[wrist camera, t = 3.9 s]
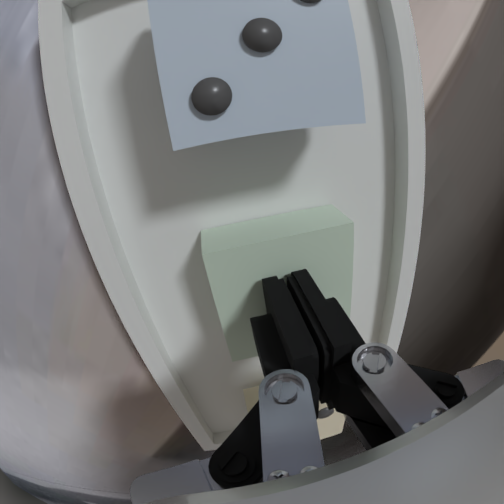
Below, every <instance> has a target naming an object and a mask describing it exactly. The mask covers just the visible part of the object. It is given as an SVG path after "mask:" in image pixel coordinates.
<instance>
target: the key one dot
mask: <svg viewBox="0 0 504 504" xmlns="http://www.w3.org/2000/svg"><path fill="white" fill-rule="evenodd" d="M201 247H202V257H203V261H204V265H205V268H206V272H207V276H208V280H209V283H210V287H211V291H212V294H213V298H214V301H215V305H216V308H217V312H218V315H219V319H220V322H221V326H222V329H223V332H224V336H225V339H226V342H227V346H228V349H229V352H230V355H231V359H232V362H234V361H238V360H243V359H248V358H252V357H257V356H258V353H257V349H256V345H255V340H254V336H253V332H252V327H251V322H250V318H252V317H256V316H261V315H265V314H267V312H266V305H265V299H264V293H263V286H262V279H263V278H268V277H272V276H277V277H278V279H281V278H283V279H284V281H285V283H286V285H287V277H289V276H291V272H293V271H298V270H302V269H307V271H308V272H309V274H310V275H311V277H312V278H313V280H314V281H315V283H316V285H317V286H318V288H319V289H320V291H321V292H322V294H323V296H324V297H325V299H328V298H332V297H334V298H336V299H337V301H338V302H339V304H340V305H341V307H342V308H343V310H344V311H345V313H346V314H347V316H348V317H349V319H350V312H351V298H352V280H353V254H354V222H353V221H352V220H350V219H349V218H348V217H347V216H346V215H344V214H343V213H342V212H341V211H339V210H338V209H337V208H336V207H334V206H333V205H332V204H331V205H325V206H320V207H314V208H309V209H304V210H299V211H293V212H288V213H283V214H278V215H273V216H268V217H263V218H258V219H253V220H248V221H244V222H239V223H234V224H229V225H225V226H220V227H215V228H211V229H206V230H201Z"/></svg>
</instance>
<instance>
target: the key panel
mask: <svg viewBox="0 0 504 504" xmlns="http://www.w3.org/2000/svg"><path fill="white" fill-rule="evenodd" d="M348 3H349V8H350V13H351V18H352V23H353V28H354V33H355V39H356V45H357V51H358V57H359V64H360V71H361V79H362V88H363V97H364V107H365V119H366V123H364V124H347V125H333V126H322V127H312V128H302V129H294V130H286V131H278V132H271V133H264V134H258V135H251V136H245V137H239V138H234V139H228V140H223V141H218V142H213V143H208V144H203V145H198V146H194V147H189V148H185V149H180V150H176V151H173V147H172V142H171V138H170V133H169V128H168V123H167V118H166V113H165V108H164V102H163V97H162V92H161V86H160V81H159V75H158V69H157V63H156V57H155V51H154V45H153V38H152V31H151V24H150V17H149V9H148V2H147V0H38V25H39V44H40V56H41V66H42V74H43V82H44V88H45V95H46V101H47V107H48V112H49V117H50V122H51V127H52V132H53V136H54V140H55V145H56V149H57V153H58V157H59V160H60V164H61V168H62V171H63V175H64V178H65V182H66V185H67V188H68V192H69V195H70V198H71V201H72V204H73V207H74V210H75V213H76V216H77V219H78V222H79V224H80V227H81V230H82V233H83V235H84V238H85V240H86V243H87V246H88V248H89V251H90V253H91V256H92V258H93V260H94V263H95V265H96V268H97V270H98V272H99V274H100V277H101V279H102V281H103V283H104V286H105V288H106V290H107V292H108V294H109V296H110V299H111V301H112V303H113V305H114V307H115V309H116V311H117V313H118V315H119V317H120V319H121V321H122V323H123V325H124V327H125V329H126V330H127V332H128V334H129V336H130V338H131V340H132V342H133V343H134V345H135V347H136V349H137V351H138V352H139V354H140V356H141V358H142V359H143V361H144V363H145V364H146V366H147V368H148V369H149V371H150V373H151V374H152V376H153V378H154V379H155V381H156V383H157V384H158V386H159V387H160V389H161V390H162V392H163V394H164V395H165V397H166V398H167V400H168V401H169V403H170V404H171V406H172V407H173V409H174V410H175V412H176V413H177V414H178V416H179V417H180V419H181V420H182V422H183V423H184V424H185V426H186V427H187V429H188V430H189V431H190V433H191V434H192V435H193V437H194V438H195V439H196V441H197V442H198V443H199V445H200V446H201V447H202V448H203V450H204V451H209V450H216V449H218V448H219V447H220V446H221V444H222V443H223V442H224V441H225V440H226V439H227V438H228V436H229V435H230V434H231V433H232V432H233V431H234V429H235V428H236V427H237V426H238V425H239V423H240V422H241V421H242V420H243V419H244V417H245V416H246V415H247V414H248V411H247V406H246V402H245V397H244V392H243V389H247V388H252V387H256V386H259V385H260V383H261V382H262V380H263V379H264V375H263V371H262V367H261V364H260V360H259V356H257V357H252V358H248V359H243V360H238V361H234V362H232V359H231V355H230V352H229V349H228V346H227V342H226V339H225V336H224V332H223V329H222V326H221V322H220V319H219V315H218V312H217V308H216V305H215V301H214V298H213V294H212V291H211V287H210V283H209V280H208V276H207V272H206V268H205V265H204V261H203V257H202V247H201V230H206V229H211V228H215V227H220V226H225V225H229V224H234V223H239V222H244V221H248V220H253V219H258V218H263V217H268V216H273V215H278V214H283V213H288V212H293V211H299V210H304V209H309V208H314V207H320V206H325V205H331V204H332V205H333V206H334V207H336V208H337V209H338V210H339V211H341V212H342V213H343V214H344V215H346V216H347V217H348V218H349V219H350V220H352V221H353V222H354V254H353V280H352V298H351V312H350V320H351V322H352V323H353V325H354V326H355V328H356V329H357V331H358V332H359V334H360V335H361V337H362V339H363V340H364V342H365V343H366V344H367V343H374V342H376V343H382V344H385V345H387V346H389V347H390V348H392V349H393V350H394V351H395V352H396V353H397V350H398V347H399V343H400V339H401V335H402V331H403V327H404V323H405V319H406V315H407V310H408V306H409V301H410V296H411V291H412V286H413V280H414V275H415V269H416V262H417V256H418V249H419V241H420V233H421V224H422V213H423V201H424V184H425V114H424V98H423V86H422V76H421V68H420V60H419V53H418V46H417V40H416V35H415V29H414V24H413V19H412V15H411V10H410V6H409V2H408V0H348Z"/></svg>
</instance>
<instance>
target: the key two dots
mask: <svg viewBox="0 0 504 504" xmlns="http://www.w3.org/2000/svg"><path fill="white" fill-rule="evenodd" d="M243 392H244V397H245V402H246V406H247V411H248V413H249V411H250V410H251V409H252V408H253V406H254V405H255V404H256V403H257V401H258V400H259V386H256V387H252V388H247V389H243ZM344 421H345V417H344V414H342V413H339V412H336V410H335V408H334V409H331V410H329V409H328V407H327V404H326V403H324V404H321V403H320V401H319V414H318V419H317V426H318V431H319V436H320V440H321V439H324V438H327V437H330V436H333V435H336V434H339V433H342V430H343V426H344Z"/></svg>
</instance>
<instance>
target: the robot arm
mask: <svg viewBox="0 0 504 504" xmlns="http://www.w3.org/2000/svg"><path fill="white" fill-rule="evenodd" d="M262 286H263V293H264V299H265V305H266V312H267V314H265V315H261V316H256V317H252V318H250V322H251V327H252V332H253V336H254V340H255V345H256V349H257V353H258V356H259V360H260V364H261V367H262V371H263V375H264V379H263V380H262V382H261V383H260V385H259V400H258V401H257V403H256V404H255V405H254V406H253V408H252V409H251V410H250V411H249V413H248V414H247V415H246V416H245V417H244V419H243V420H242V421H241V422H240V423H239V425H238V426H237V427H236V428H235V429H234V431H233V432H232V433H231V434H230V435H229V436H228V438H227V439H226V440H225V441H224V442H223V443H222V444H221V446H220V447H219V448H218V449H217V450H216V451H215V452H214V454H213V455H212V457H210V458H207V459H204V460H201V461H199V460H198V459H197V460H194V461H190V462H187V463H184V464H181V465H177V466H174V467H171V468H167V469H163V470H160V471H156V472H152V473H148V474H144V475H141V476H139V477H137V478H136V479H135V480H134V481H133V482H132V484H131V487H130V496H131V500H132V504H504V361H503V360H493V361H490V362H487V363H484V364H481V365H478V366H475V367H472V368H469V369H466V370H463V371H460V372H457V374H456V375H455V376H453V375H450V374H447V373H443V372H439V371H434V370H430V369H426V368H422V367H417V366H413V365H409V364H406V363H405V362H404V360H403V359H402V358H401V357H400V356H399V355H398V354H397V353H396V352H395V351H394V350H393V349H392V348H390V347H389V346H387V345H385V344H382V343H376V342H374V343H367V344H366V343H365V342H364V340H363V339H362V337H361V335H360V334H359V332H358V331H357V329H356V328H355V326H354V325H353V323H352V322H351V320H350V319H349V317H348V316H347V314H346V313H345V311H344V310H343V308H342V307H341V305H340V304H339V302H338V301H337V299H336V298H334V297H332V298H328V299H325V297H324V296H323V294H322V292H321V291H320V289H319V288H318V286H317V285H316V283H315V281H314V280H313V278H312V277H311V275H310V274H309V272H308V271H307V269H302V270H298V271H293V272H291V276H289V277H287V285H286V283H285V281H284V279H283V278H281V279H278V277H277V276H272V277H268V278H263V279H262ZM319 401H320V403H321V404H324V403H326V404H327V407H328V409H329V410H331V409H334V408H335V410H336V412H339V413H342V414H344V417H345V420H346V421H347V423H348V424H349V426H350V427H351V428H352V430H353V431H354V433H355V434H356V436H357V437H358V439H359V440H360V442H361V443H362V445H363V446H364V447H365V449H366V450H367V451H365V452H363V453H360V454H358V455H355V456H352V457H350V458H347V459H344V460H341V461H338V462H336V463H333V464H330V465H327V466H325V465H324V459H323V453H322V447H321V442H320V436H319V431H318V426H317V419H318V414H319Z"/></svg>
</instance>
